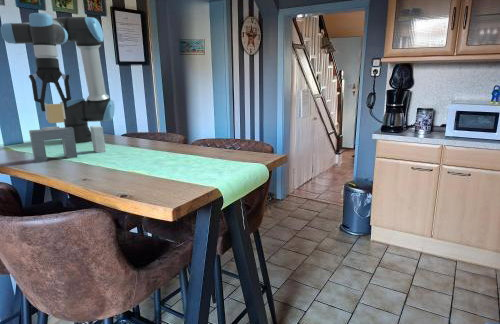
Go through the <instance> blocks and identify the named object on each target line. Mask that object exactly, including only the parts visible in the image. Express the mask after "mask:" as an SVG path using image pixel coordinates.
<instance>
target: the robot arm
mask: <svg viewBox="0 0 500 324" xmlns="http://www.w3.org/2000/svg"><path fill="white" fill-rule="evenodd" d="M28 21H29V22H17V23H16V22H8V23H7V22H6V23H5V22H4V23H2V24H1V26H0V33H1V37H2V38H3V41H5V43H8V44H14V45H18V44H21V45H22V44H31V45H33V53H34V56H35V66H36V71H35V73H33V74H29V75H28V78H29V79H30V81H31V88H32V94H33V101H34V102H37V103H39V105H40V108H41V109H40V110H41V112H44V114H45V121H48V120H49V115H48V109H47V104H48V103H47V102H45V100H46V91H47V84H49V83H51V84H54V85H55V88H56V90H57V93H58V95H59V97H60V100H61V101H60V102H59V104H62V109H63V116H64V122H63V124H64V127H72V128H73V129H74V136H75V143H84V142H85V143H86V142H90V141H92V137H91V130H90V127H89V125H88V124H89V123H90V122H110V121H112V120H113V118H114V115H115V101H114V100H112V99H110V95H108V94H107V91H106V85H105V79H104V74H103V69H102V68H103V67H102V64H101V63H102V62H101V58H100V57H101V56H100V50H99V49H100V47H101V46H102V42H104V32H103V28H102V26H101V24H100V21H99V20H98V19H97V18H96V17H90V16H62V17H56V18H53V16H52V15H51V14H49V13H42V12H33V13H29V15H28ZM67 42H69V43H70V42H71V43H72V42H74V43H75V46H76V47H77V48H78V49H79V50H80V54H81V60H82V65H83V71H84V75H85V81H86V85H87V91H88V96H87V97H86V99H85V98H84V97H80V98H74V99H72V96H71V89H70V83H69V80H70V74H65V73H62V71H61V69H60V63H59V59H58V55H59V53H58V48H57V46H59V45H64V44H66V43H67ZM37 78H39V79H40V80H41V90H40V97H39V95H38V87H37V81H36V80H37ZM61 78H62V80H63V84H64V90H65V95H64V92H63V89H62V87H61V84H60V82H59V80H60V79H61ZM65 96H66V97H65Z"/></svg>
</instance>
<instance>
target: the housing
mask: <svg viewBox="0 0 500 324" xmlns="http://www.w3.org/2000/svg"><path fill="white" fill-rule="evenodd" d="M28 131H29V137H30V143H31V148H32V156H33V161H34V163H44V162H48V157H47V151H46V144H45V141H53V140H61V142H62V143H61V144H62V148H63V155H64V156H63V157H65V158H66V160H68V159H74V158H78V151H77V145H76V143H75V136H74V129H73V128H72V127H65V126H64V127H60V126H59V125H57V126H45V127H42V128H41V129H33V130H32V129H31V130H30V129H29V130H28Z"/></svg>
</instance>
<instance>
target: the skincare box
mask: <svg viewBox="0 0 500 324" xmlns="http://www.w3.org/2000/svg"><path fill="white" fill-rule="evenodd" d="M89 129H90V131H91V137H92V140H91V143H92V147H93V151H94V152H95V153H105V152H106V151H107V150H106V143H105V138H104V129H103V126H101V125H92V126H90V127H89Z"/></svg>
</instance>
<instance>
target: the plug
mask: <svg viewBox="0 0 500 324" xmlns="http://www.w3.org/2000/svg"><path fill="white" fill-rule="evenodd" d="M47 109H48V115H49V120H47V122H48V123H49V124H58V123H59V124H60V123H64V116H63V109H62V104H60V103H47Z"/></svg>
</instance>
